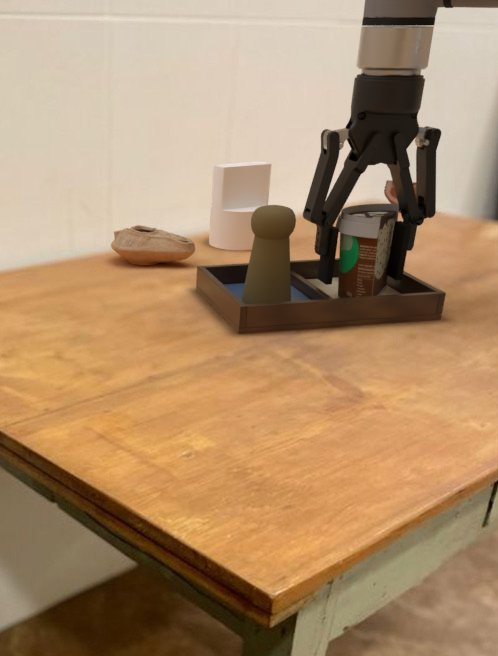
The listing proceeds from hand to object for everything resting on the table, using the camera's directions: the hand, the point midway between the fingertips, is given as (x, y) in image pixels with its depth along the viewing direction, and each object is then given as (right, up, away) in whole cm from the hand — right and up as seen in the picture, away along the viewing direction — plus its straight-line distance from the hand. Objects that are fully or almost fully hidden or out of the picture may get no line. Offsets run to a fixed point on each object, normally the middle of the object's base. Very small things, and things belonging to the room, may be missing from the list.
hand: (359, 279), depth 101 cm
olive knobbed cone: (-12, -3, -1) cm, 12 cm away
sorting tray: (-6, -3, +1) cm, 7 cm away
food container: (0, -2, +1) cm, 2 cm away
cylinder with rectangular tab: (-11, +14, +28) cm, 33 cm away
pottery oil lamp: (-25, +7, +18) cm, 32 cm away
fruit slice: (+24, +29, +52) cm, 64 cm away
